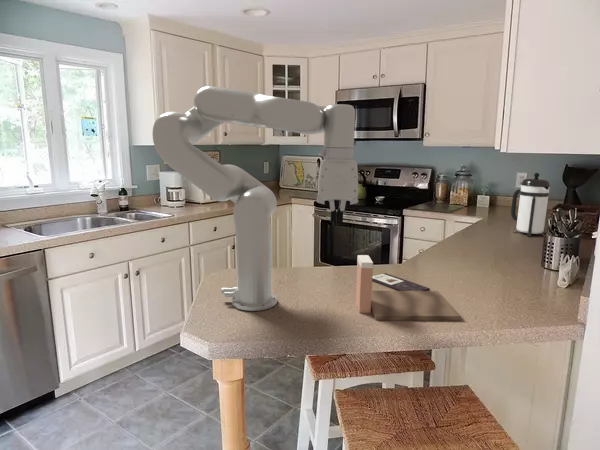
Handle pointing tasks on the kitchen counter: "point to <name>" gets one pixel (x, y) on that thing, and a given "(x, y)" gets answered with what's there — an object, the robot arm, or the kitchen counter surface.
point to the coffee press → (531, 205)
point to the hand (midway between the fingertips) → (336, 225)
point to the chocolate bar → (397, 283)
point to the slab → (364, 283)
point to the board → (411, 306)
